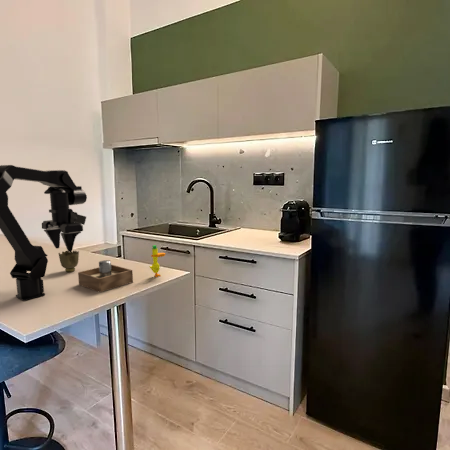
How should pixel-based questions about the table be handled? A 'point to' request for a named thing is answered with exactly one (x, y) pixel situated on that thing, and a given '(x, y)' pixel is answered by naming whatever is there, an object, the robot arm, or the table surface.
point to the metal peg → (105, 268)
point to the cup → (69, 260)
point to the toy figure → (155, 255)
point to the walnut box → (105, 278)
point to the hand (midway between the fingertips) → (63, 249)
